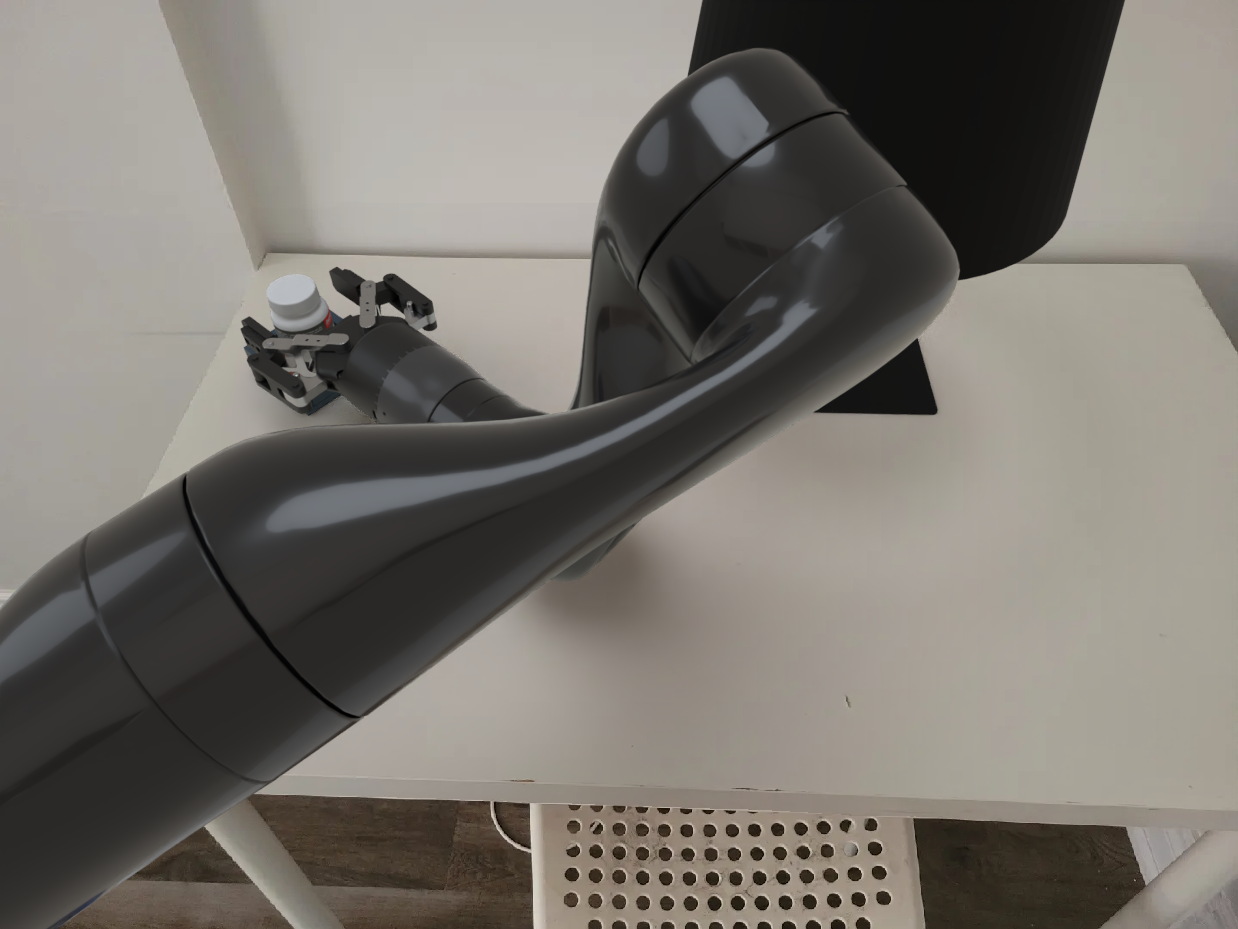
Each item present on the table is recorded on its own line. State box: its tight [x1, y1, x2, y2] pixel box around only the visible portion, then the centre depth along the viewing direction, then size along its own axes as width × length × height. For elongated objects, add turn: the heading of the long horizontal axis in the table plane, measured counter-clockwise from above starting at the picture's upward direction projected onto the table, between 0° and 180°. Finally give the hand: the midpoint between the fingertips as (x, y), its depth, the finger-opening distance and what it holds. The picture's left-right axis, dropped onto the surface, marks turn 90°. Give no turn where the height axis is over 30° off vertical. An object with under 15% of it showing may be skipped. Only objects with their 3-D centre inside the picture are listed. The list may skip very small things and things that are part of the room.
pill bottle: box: [265, 273, 335, 376], centre depth 75 cm, size 5×5×8 cm
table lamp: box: [686, 0, 1126, 416], centre depth 61 cm, size 26×28×40 cm
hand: (292, 301), depth 73 cm, fingers open, 8 cm apart
